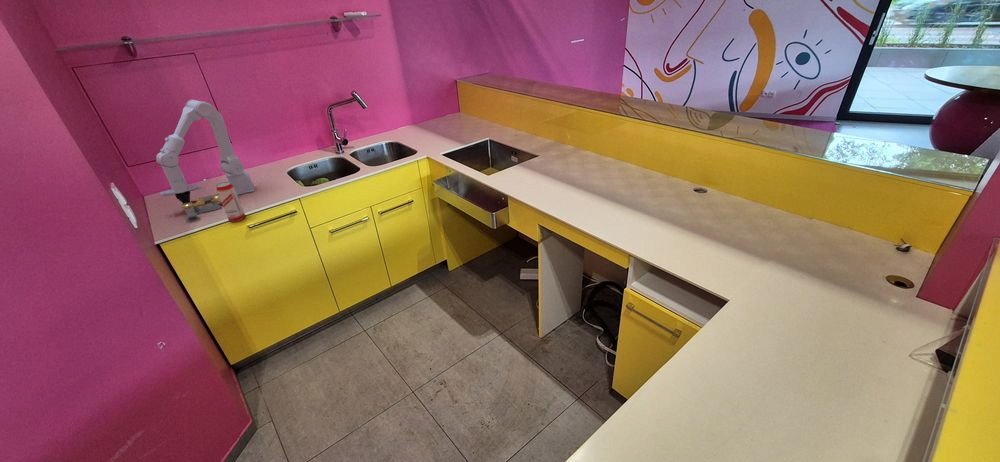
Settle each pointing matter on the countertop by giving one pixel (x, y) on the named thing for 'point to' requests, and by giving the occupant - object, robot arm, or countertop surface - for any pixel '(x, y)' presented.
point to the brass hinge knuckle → (204, 206)
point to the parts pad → (192, 220)
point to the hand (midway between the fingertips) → (189, 207)
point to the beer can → (230, 201)
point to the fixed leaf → (212, 199)
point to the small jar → (189, 210)
